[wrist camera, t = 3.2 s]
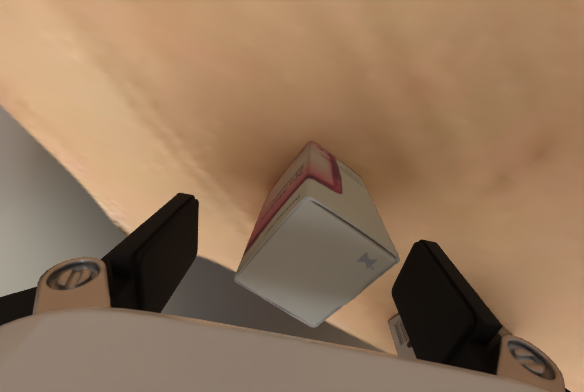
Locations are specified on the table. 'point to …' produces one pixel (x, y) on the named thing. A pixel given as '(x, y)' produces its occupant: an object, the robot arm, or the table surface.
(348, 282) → the small box
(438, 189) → the table surface
